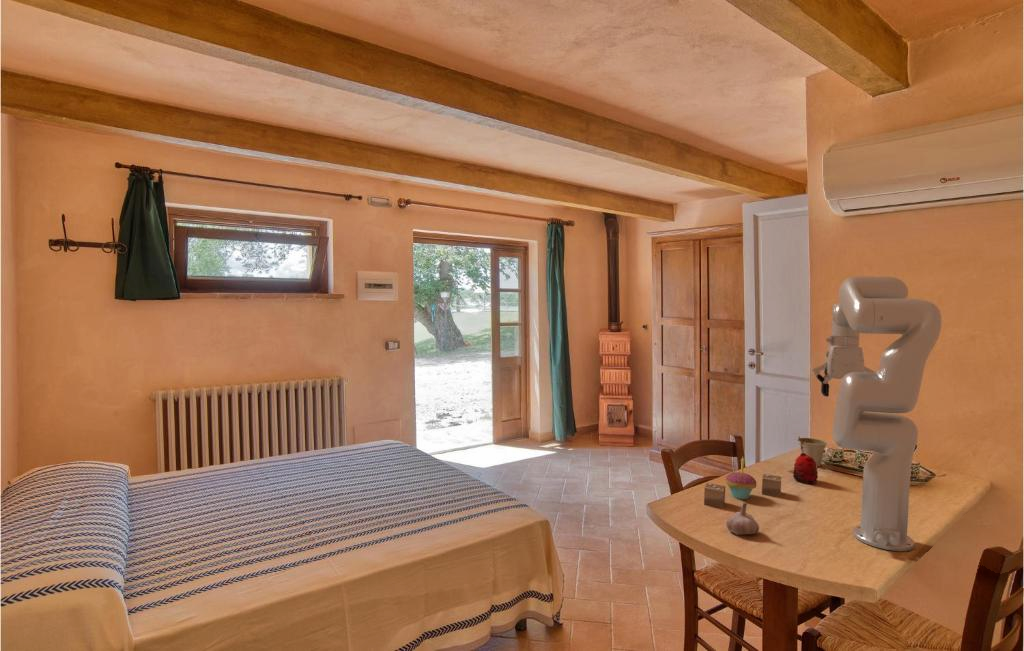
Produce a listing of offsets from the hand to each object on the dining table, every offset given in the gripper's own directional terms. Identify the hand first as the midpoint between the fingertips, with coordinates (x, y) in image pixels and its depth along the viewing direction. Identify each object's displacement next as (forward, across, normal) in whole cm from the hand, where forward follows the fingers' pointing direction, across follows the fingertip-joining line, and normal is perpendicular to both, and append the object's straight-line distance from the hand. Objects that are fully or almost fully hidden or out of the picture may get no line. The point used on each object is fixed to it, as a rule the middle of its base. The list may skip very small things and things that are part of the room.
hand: (842, 396), depth 169 cm
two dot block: (+29, -22, -9) cm, 38 cm away
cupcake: (+30, -32, -15) cm, 46 cm away
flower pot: (+29, 0, +25) cm, 39 cm away
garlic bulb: (+30, -37, -41) cm, 63 cm away
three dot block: (+30, -41, -22) cm, 55 cm away
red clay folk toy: (+29, -8, +5) cm, 31 cm away
